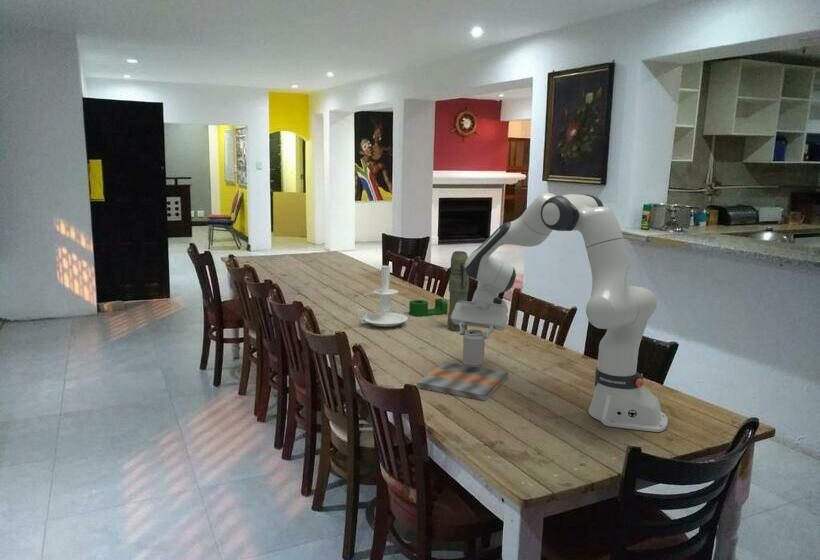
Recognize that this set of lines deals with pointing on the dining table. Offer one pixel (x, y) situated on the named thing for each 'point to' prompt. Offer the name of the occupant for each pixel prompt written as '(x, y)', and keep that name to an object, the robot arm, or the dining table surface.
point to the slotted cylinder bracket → (421, 308)
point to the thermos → (457, 285)
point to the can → (473, 348)
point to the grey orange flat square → (463, 380)
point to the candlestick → (384, 305)
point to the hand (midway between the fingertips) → (473, 336)
